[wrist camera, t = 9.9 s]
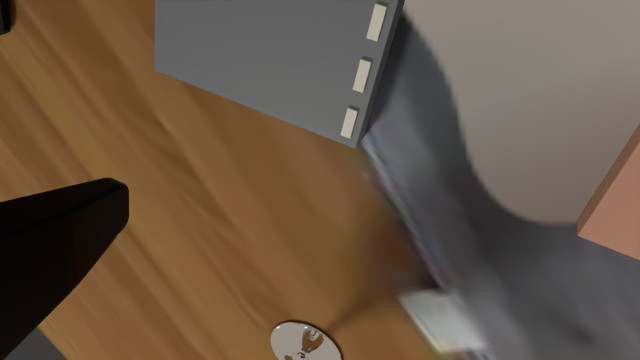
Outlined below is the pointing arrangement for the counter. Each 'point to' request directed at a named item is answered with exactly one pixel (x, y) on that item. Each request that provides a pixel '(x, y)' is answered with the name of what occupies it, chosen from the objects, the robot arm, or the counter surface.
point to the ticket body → (283, 56)
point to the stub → (616, 205)
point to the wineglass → (302, 343)
